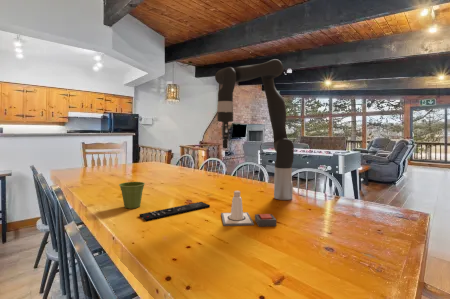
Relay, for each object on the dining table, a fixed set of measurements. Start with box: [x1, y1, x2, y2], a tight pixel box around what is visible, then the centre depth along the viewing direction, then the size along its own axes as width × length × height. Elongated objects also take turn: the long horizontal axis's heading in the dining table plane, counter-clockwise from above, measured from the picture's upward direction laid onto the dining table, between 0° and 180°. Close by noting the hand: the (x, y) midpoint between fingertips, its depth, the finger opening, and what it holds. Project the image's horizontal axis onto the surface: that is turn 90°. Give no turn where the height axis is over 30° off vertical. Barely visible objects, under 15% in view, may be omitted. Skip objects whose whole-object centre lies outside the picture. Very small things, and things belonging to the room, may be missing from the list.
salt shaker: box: [230, 190, 244, 219], centre depth 105 cm, size 5×5×11 cm
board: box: [220, 211, 255, 227], centre depth 106 cm, size 12×14×1 cm
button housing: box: [254, 213, 277, 228], centre depth 102 cm, size 7×7×2 cm
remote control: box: [138, 201, 211, 222], centre depth 115 cm, size 8×32×2 cm, turn 129°
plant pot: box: [118, 181, 146, 209], centre depth 122 cm, size 12×12×11 cm
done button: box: [258, 213, 272, 219], centre depth 101 cm, size 4×4×2 cm
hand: (225, 148), depth 120 cm, fingers closed
